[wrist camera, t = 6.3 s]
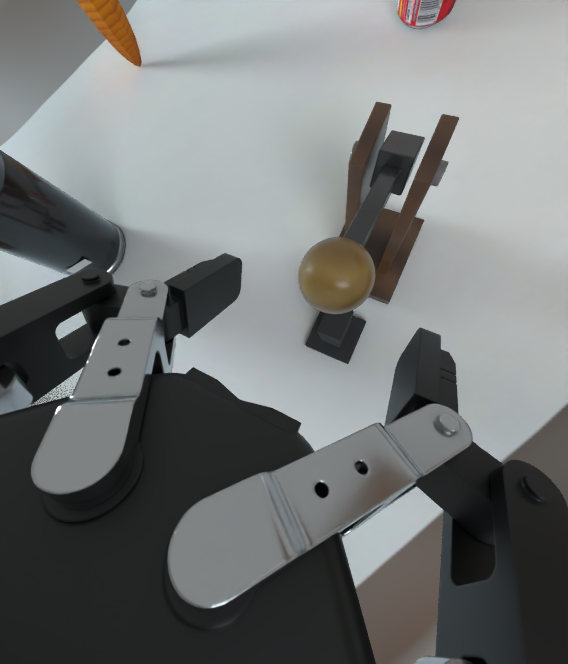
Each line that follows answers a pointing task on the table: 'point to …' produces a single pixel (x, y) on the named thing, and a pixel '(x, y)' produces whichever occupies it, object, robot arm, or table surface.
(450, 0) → the soda can
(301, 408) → the table surface
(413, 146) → the lever with ball knob
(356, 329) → the stop post
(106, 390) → the robot arm
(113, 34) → the carrot
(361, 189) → the brown wooden upright frame
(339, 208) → the table surface
